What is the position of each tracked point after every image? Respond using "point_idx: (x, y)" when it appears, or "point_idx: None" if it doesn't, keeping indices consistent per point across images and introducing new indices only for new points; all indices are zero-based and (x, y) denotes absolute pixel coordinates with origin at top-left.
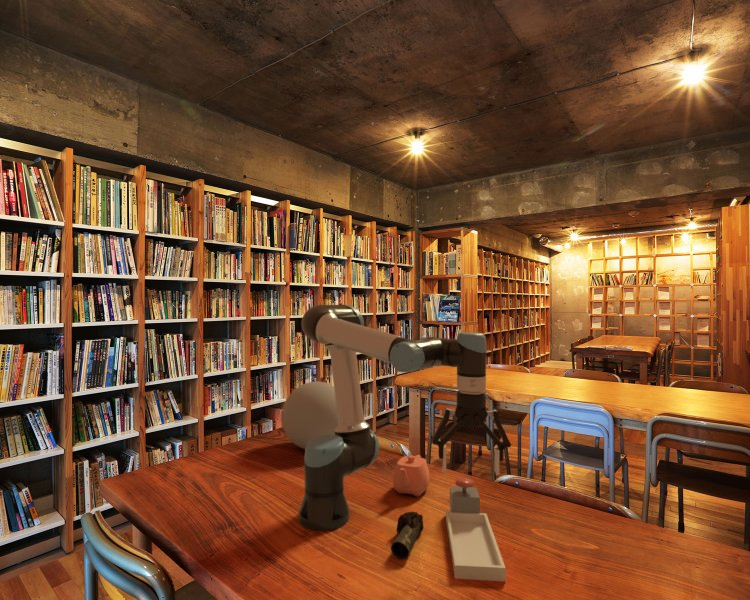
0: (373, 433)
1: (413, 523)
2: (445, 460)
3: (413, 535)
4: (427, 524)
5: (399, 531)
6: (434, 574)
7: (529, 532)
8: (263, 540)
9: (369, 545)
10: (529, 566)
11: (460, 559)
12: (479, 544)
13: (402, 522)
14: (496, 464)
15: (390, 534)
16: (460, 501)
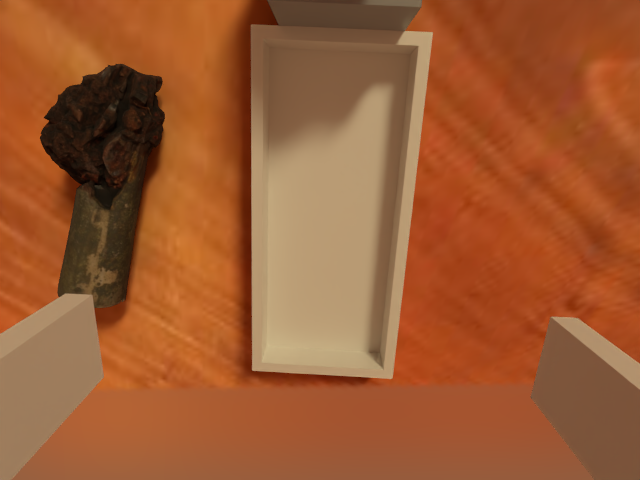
0: None
1: (108, 172)
2: (9, 471)
3: (121, 234)
4: (187, 46)
5: (73, 178)
6: (209, 325)
7: (570, 93)
8: None
9: (5, 198)
10: (477, 288)
11: (282, 285)
12: (356, 207)
13: (64, 163)
14: (596, 477)
15: None
16: (314, 10)
